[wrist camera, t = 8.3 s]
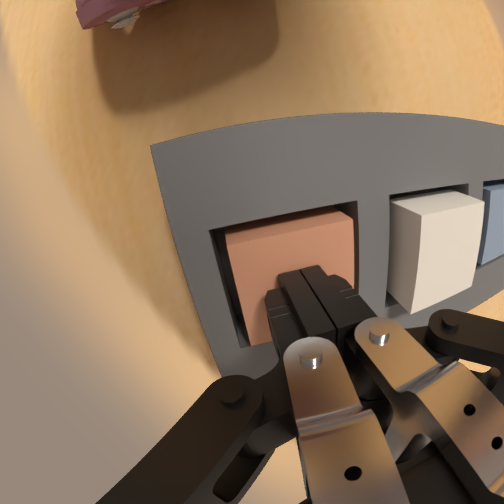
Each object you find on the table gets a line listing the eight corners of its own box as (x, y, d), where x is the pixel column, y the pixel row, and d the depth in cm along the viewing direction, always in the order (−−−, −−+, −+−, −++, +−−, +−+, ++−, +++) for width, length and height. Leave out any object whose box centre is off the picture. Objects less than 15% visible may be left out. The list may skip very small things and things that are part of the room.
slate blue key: (460, 181, 12) (490, 191, 10) (494, 177, 12) (520, 186, 10) (455, 249, 14) (481, 265, 12) (489, 236, 14) (512, 249, 12)
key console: (169, 144, 11) (149, 145, 8) (485, 124, 13) (524, 130, 9) (225, 345, 16) (229, 395, 13) (478, 265, 17) (508, 286, 14)
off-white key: (385, 199, 11) (421, 215, 8) (450, 189, 11) (484, 201, 9) (383, 287, 12) (410, 314, 10) (443, 266, 13) (471, 286, 10)
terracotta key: (224, 223, 11) (226, 245, 9) (326, 203, 11) (352, 219, 9) (244, 311, 13) (251, 345, 11) (332, 290, 13) (352, 318, 11)
